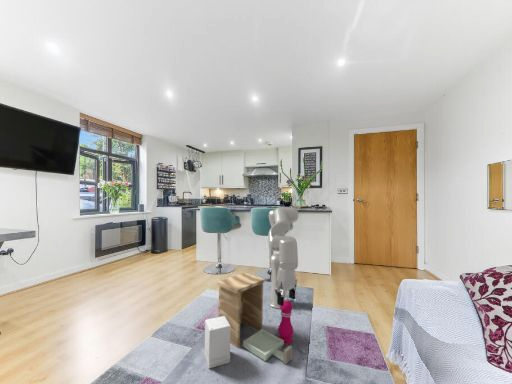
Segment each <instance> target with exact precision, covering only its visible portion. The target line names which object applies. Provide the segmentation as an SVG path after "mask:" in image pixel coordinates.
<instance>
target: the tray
mask: <svg viewBox="0 0 512 384" xmlns="http://www.w3.org/2000/svg"><path fill="white" fill-rule="evenodd" d="M242 344H243V345H242V347H243V348H245V349H246V350H247V351H249V352H251V353H252V354H253V355H255V356H257V357H258V358H260V359H261V360H262V361H264V362H267V361H268V360H269V359H270V358H272V357H273V356H274V357H276V359H279V360H280V361H282V362H283V363H284V364H285V365H287V364H288V363H289V362H290V361H292V360H293V359H292V357H293V354H292V353H293V347H292V346H291V345H289V346H288V347H286V348H285V349H284V350H283V352H282V351H280V350H281V349H282V348H283V347H284V346H285V344H284V340H282V339H280V338H279V336H276V335H274V334H272V333H270V332H268V331H267V330H265V329H263V328H262V329H261V330H260V331H256V332H255V333H253V334H251V335H250V336H249V337H248V338H246V339H244V340H243V342H242Z"/></svg>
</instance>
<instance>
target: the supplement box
mask: <svg viewBox="0 0 512 384" xmlns="http://www.w3.org/2000/svg"><path fill="white" fill-rule="evenodd" d="M204 327H205V328H204V358H205V361H206V364H207V368H208V369H212V368H216V367H219V366H222V365H226V364H229V363H230V362H231V343H230V328H231V326H230V324H229V323H228V321H227V319H226V317H225V316H221V317H218V316H217V317H212V318H207V319H205V321H204Z"/></svg>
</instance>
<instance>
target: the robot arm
mask: <svg viewBox="0 0 512 384" xmlns="http://www.w3.org/2000/svg"><path fill="white" fill-rule="evenodd" d="M298 219H299V211H298V209H297V208H296V207H292V206H291V207H290V206H279V207H276V208H275V209H272V210H270V211H269V212H268V220H269V225H270V227H271V228H270V229H269V230H268V235H267V239H268V240H267V241H268V248H269V250H271V251H273V252H274V251H275V252H279V253H274V254H272V255H271V256H270V267H271V279H270V280H271V281H270V282H271V283H270V284H271V285H270V287H271V289H270V290H271V291H270V299H269V300H268V305H269V306H270V307H271V308H274V309H279V310H281V309H280V305H281V306H284V299H285V298H288V299H291V300H296V290H297V284H298V279H296V276H297V275H296V269H298V267H299V256H298V255H299V253H298V252H299V251H298V242H297V238H295V237H294V236H289V235H287V236H286V232H288V231H289V230H290V228H291V223H292V224H293V223H296V222H297V221H298ZM287 292H288V293H287Z"/></svg>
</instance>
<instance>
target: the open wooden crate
mask: <svg viewBox="0 0 512 384" xmlns="http://www.w3.org/2000/svg"><path fill="white" fill-rule="evenodd" d="M264 283H265V278H263V277H259V276H256V275H253V274H250V273H248V272H243V273H239V274H237V275H234V276H231V277H227V278H225V279H222V280H218V281H217V286H218V316H217V317H221V316H225V317H226V319H227V321H228V323H229V324H230V326H231V328H230V345H232V346H234V347H236V348H237V349H239V348H240V347H241V346H240V345H241V344H240V343H241V337H240V336H241V324H244V325H246V326H248V327H250V328H252V329H253V330H255V331H256V332H258V331H260V330H261V329H263V318H264V317H263V311H264V309H263V308H264V307H263V306H264Z"/></svg>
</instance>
